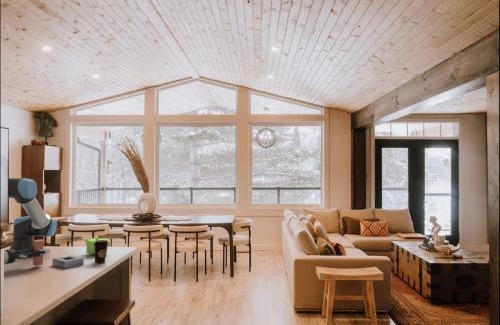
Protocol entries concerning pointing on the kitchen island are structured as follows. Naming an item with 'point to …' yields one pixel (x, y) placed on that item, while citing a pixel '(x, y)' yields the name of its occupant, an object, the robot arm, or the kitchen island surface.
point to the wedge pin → (37, 246)
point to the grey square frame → (67, 262)
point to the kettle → (92, 245)
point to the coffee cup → (100, 250)
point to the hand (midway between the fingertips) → (47, 250)
